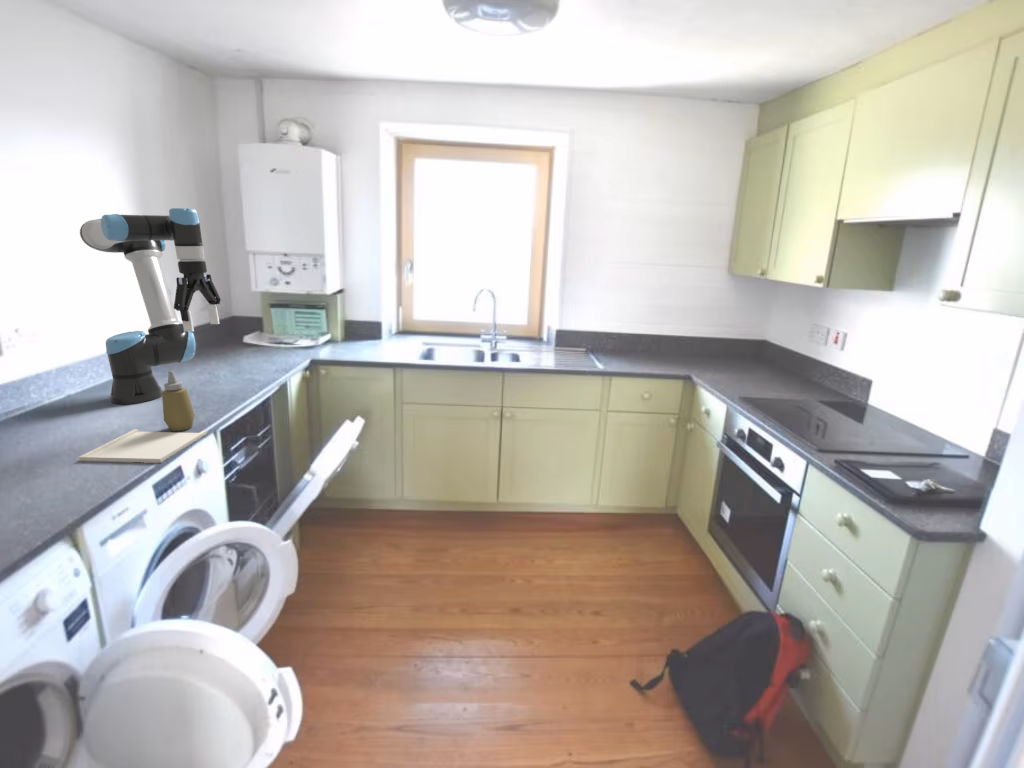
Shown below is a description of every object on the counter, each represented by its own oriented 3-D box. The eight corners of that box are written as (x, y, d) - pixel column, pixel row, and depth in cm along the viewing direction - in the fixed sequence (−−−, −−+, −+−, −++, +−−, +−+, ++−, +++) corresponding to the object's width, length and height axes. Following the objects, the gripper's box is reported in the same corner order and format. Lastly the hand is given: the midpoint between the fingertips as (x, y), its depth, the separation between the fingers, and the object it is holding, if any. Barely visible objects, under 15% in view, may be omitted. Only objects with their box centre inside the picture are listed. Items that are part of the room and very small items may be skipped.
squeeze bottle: (192, 421, 165) (182, 366, 160) (199, 428, 159) (190, 371, 154) (162, 428, 160) (151, 371, 154) (169, 435, 154) (158, 376, 149)
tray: (135, 432, 156) (135, 429, 155) (207, 434, 155) (206, 430, 154) (79, 461, 136) (78, 457, 136) (161, 463, 136) (160, 458, 135)
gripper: (204, 258, 175) (214, 321, 181) (151, 262, 151) (165, 334, 157) (225, 258, 175) (235, 321, 181) (176, 262, 151) (189, 334, 157)
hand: (202, 327), depth 169 cm, fingers open, 13 cm apart
